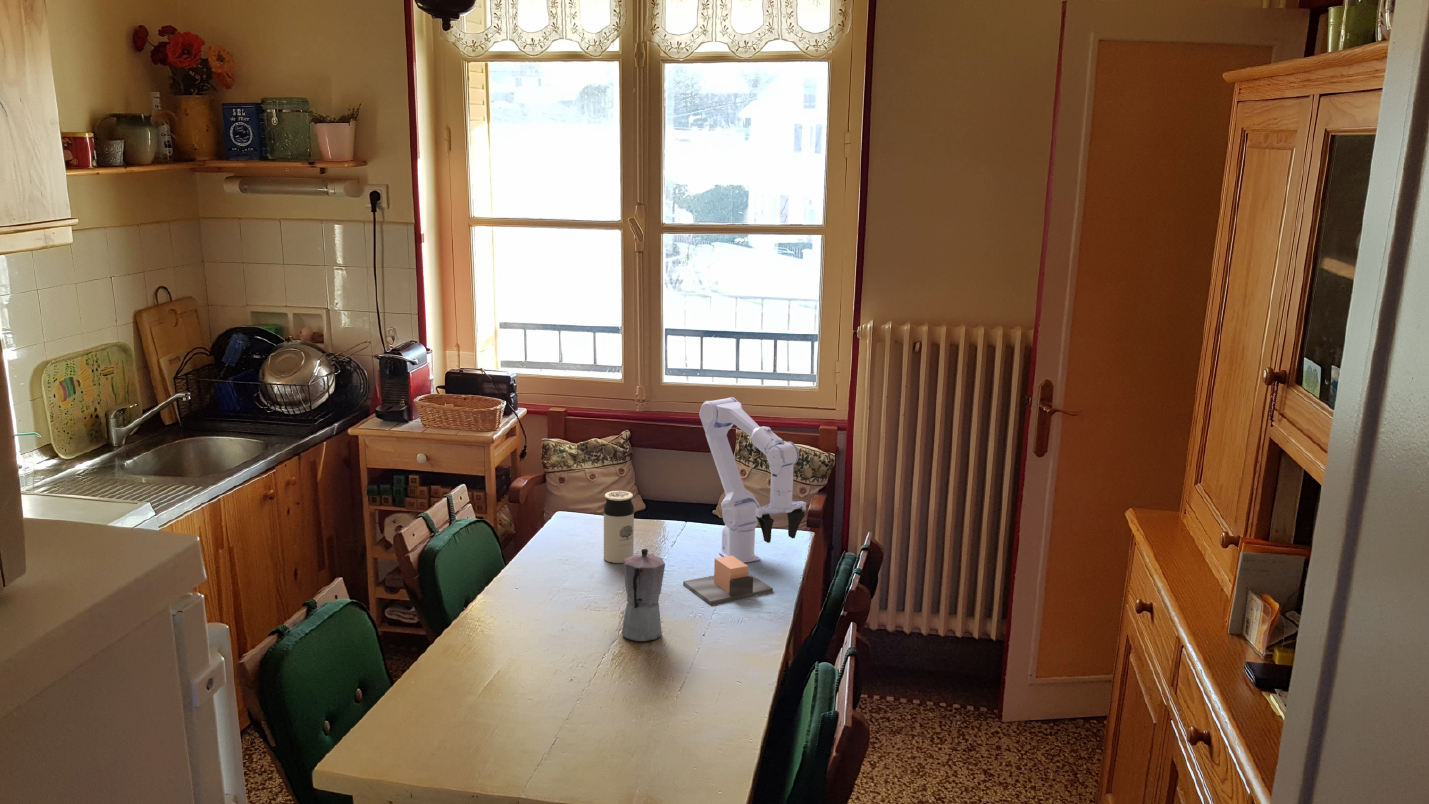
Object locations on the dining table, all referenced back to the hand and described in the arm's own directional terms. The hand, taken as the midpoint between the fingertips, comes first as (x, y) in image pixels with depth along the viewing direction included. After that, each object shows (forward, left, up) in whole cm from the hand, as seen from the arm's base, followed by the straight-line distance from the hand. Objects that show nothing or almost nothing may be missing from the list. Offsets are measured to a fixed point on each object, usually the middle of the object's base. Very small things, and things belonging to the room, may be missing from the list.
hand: (779, 539), depth 271 cm
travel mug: (-28, -33, -10) cm, 44 cm away
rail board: (+3, -17, -9) cm, 20 cm away
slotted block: (+4, -17, -8) cm, 19 cm away
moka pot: (+18, -48, -10) cm, 52 cm away
